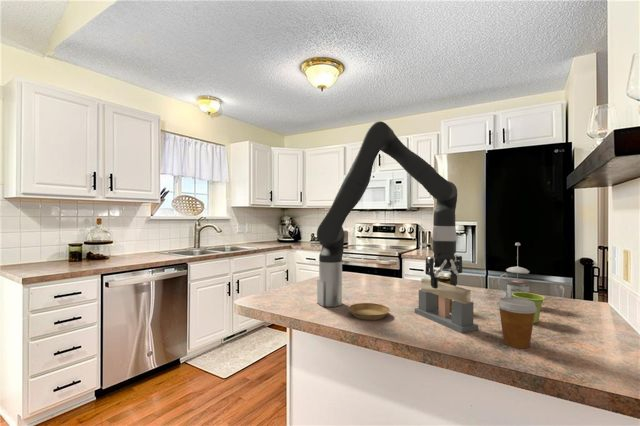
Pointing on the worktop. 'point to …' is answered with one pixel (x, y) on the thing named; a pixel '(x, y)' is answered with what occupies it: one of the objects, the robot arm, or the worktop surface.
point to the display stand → (446, 312)
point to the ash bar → (447, 291)
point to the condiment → (447, 281)
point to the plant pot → (534, 298)
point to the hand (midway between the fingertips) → (444, 286)
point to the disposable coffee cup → (517, 321)
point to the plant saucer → (369, 311)
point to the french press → (517, 282)
